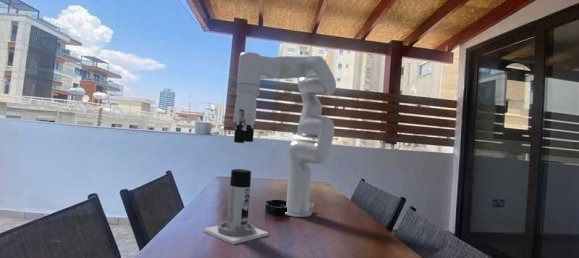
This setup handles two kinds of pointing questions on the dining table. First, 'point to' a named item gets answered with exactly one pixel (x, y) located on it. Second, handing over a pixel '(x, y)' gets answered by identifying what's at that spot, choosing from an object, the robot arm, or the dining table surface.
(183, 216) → the dining table surface
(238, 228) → the spray can
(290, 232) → the dining table surface
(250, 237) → the collar plate
